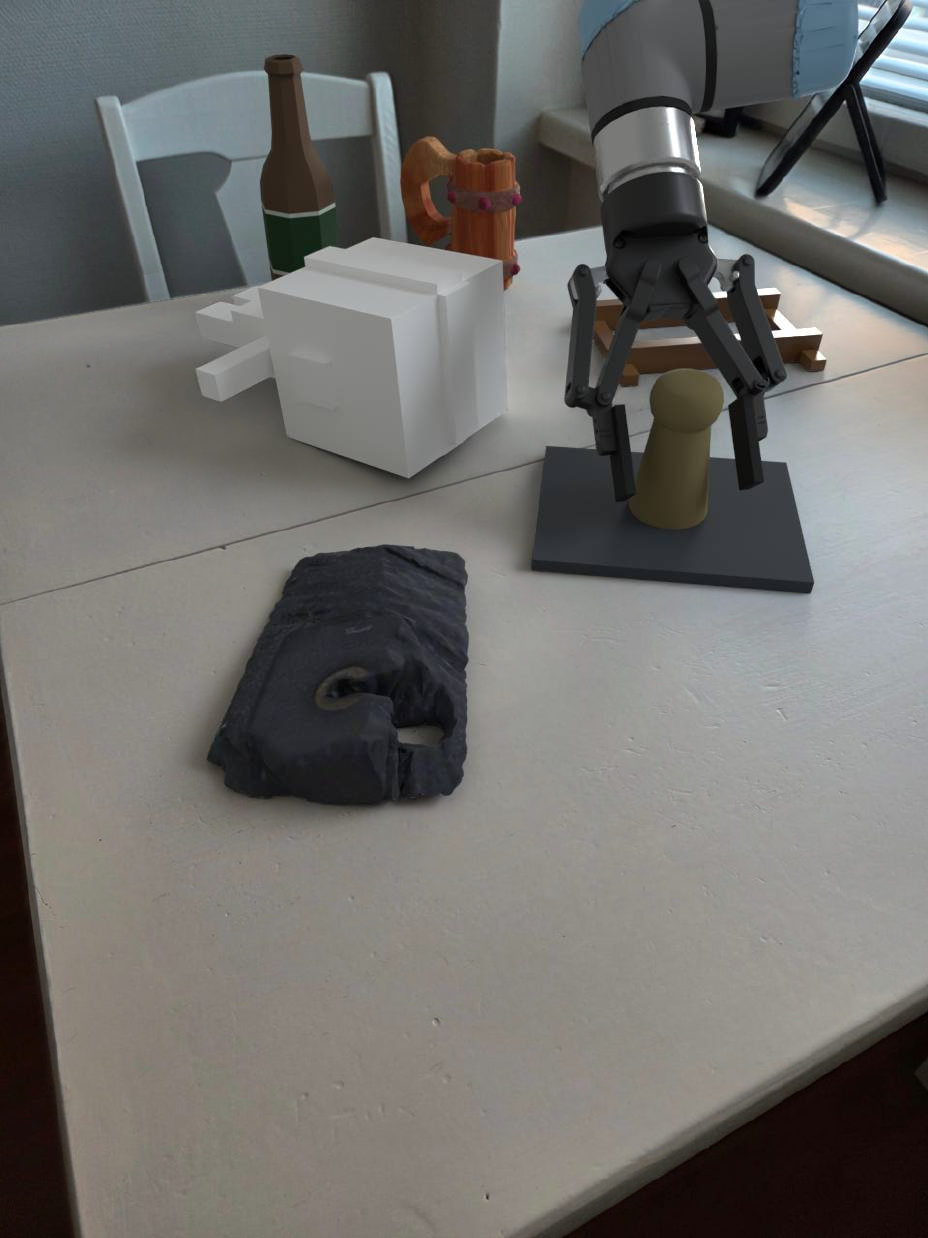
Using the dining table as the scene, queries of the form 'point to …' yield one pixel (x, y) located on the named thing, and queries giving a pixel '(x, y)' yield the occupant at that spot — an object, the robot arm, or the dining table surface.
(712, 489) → the mat
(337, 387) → the white voxel figure
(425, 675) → the folded black garment
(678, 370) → the olive pawn
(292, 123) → the beer bottle
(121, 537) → the dining table surface
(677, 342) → the rack
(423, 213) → the mug
